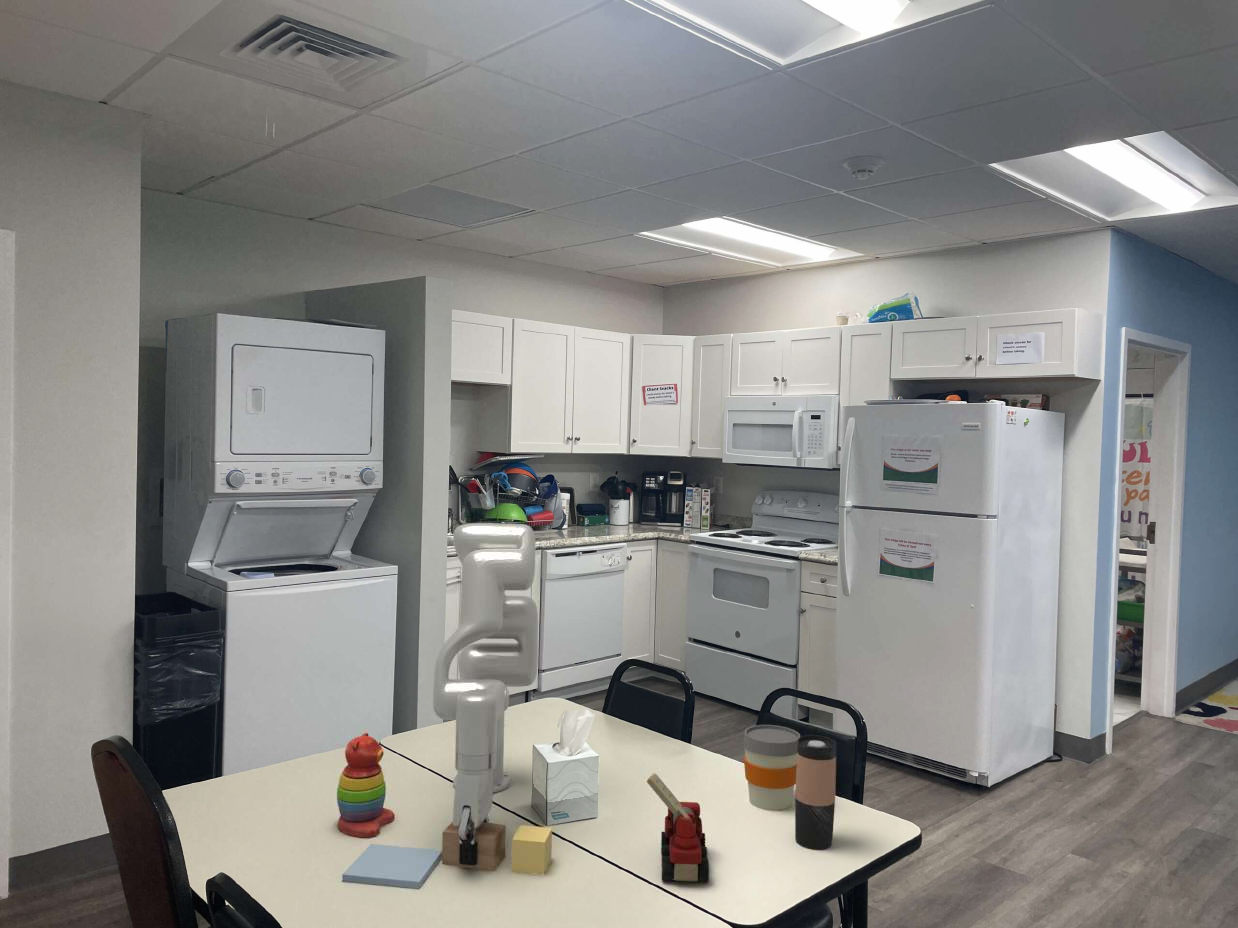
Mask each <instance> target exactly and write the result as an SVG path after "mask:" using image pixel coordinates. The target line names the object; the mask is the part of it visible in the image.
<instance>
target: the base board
mask: <svg viewBox="0 0 1238 928" xmlns="http://www.w3.org/2000/svg"><path fill="white" fill-rule="evenodd" d="M441 860H442V849H441V850H440V849H433V848H432V849H430V848H420V847H408V846H399V845H398V846H397V845H389V844H388V845H387V844H377V843H376V844H375V843H370V844H369V845H368V846H367V847H366V848H365V849H364V851H363V852H362V853H361V854H360V855H359V856H358V857H357V858H356V859H355V860H354V861H353V862H352V864H350V866H349V867H348V868H347V869H346V870H345V871H344V872H343V873H342V875H341V876H342V877H341V878H342V879H341V881H342V882H347V883H355V884H356V883H359V884H366V885H367V884H368V885H379V886H385V887H387V886H388V887H396V888H397V887H398V888H408V889H415V890H416V889H418V890H419V889H420V888H421V887H422V885H424V883H425V881H426V880H427V879H428V877H429V876H430V874H431V873H432V872H433V871H434V869H435V868H436V866H437V865H439V863H440V861H441Z"/></svg>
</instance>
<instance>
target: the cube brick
mask: <svg viewBox="0 0 1238 928" xmlns="http://www.w3.org/2000/svg"><path fill="white" fill-rule="evenodd" d="M518 827H519V828H517V830H516V831H515V834H514V835H513V838H512V839H511V841H512V842H511V872H513V873H520V872H522V873H521V874H530V873H532V874H531V875H534V874H533V873H537V874H536V875H541V874H544V873H545V874H546V872H545V871H547V870H548V868H547V867H549V866H550V863H551V861H552V850H553V848H552V846H553V844H552V842H553V838H552V837H553V827H545V826H534V825H524V824H521V825H520V826H518ZM546 869H547V870H546ZM545 874H544V875H545Z"/></svg>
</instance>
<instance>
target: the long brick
mask: <svg viewBox="0 0 1238 928" xmlns="http://www.w3.org/2000/svg"><path fill="white" fill-rule="evenodd" d="M469 825H474V822H469ZM459 827H460V824H459V825H458V826H457V827H455V826H454V825H453V821H452V822H451V823H449V825H448V826H447V827H445V829H443V831H442V838H441V839H442V840H441V841H442V843H441V844H442V848H441V850H442V858H441V864H442V865H447V866H454V867H461V868H466V869H473V870H480V871H487V872H494V871H495V870H496V869H497V868H498V867H499V865H500V864H501V863H502V861H503V860H504V859H505V858H506V850H507V849H506V848H507V845H506V839H507V838H506V837H507V825H506V824H501V823H495V822H489V823H488V822H482V824H481V825H480V826H479V827H478V828H477V835H476V842H477V843H478V846H477V864H476V865H464V864H460V863H459V847H460V843H459V839H460V837H459V834H458V831H459ZM472 831H473V829H468V833H470V834H471V836H472Z"/></svg>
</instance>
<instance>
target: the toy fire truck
mask: <svg viewBox="0 0 1238 928" xmlns="http://www.w3.org/2000/svg"><path fill="white" fill-rule="evenodd" d="M646 783H647V784H648V785H649V787H650V788H651V789H652V790H653V791H654V792H655V794H656V796H658V798H659V799H660V800H661V801H662V802H663V803H664V804H665V806H666V807H667V815H665V816H664V831H661V841H660V842H661V843H660V845H661V846H660V854H661V881H666V882H667V881H668V882H669V881H679V882H680V881H682V882H698V883H699V882H700V883H708V882H709V881H710V880H709V878H710V875H709V874H710V871H709V870H710V866H709V863H710V862H709V858H708V847H707V846H706V833H705V832H703V821H702V818H701V817H700V816H701V806H700V804H699V803H698V802H697V801H696V802H694V801H679V799H677V797H676V796H675V795H674V794H673V793H672V791H671V790H670V789H669V787H668V786H667V785H666V784H665V783H664V781H663V780H662V779H661V777H659V775H658V774H656V773H655V772H654V773H652V774H651V775H650V776H649V777H648V778H647V780H646Z"/></svg>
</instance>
